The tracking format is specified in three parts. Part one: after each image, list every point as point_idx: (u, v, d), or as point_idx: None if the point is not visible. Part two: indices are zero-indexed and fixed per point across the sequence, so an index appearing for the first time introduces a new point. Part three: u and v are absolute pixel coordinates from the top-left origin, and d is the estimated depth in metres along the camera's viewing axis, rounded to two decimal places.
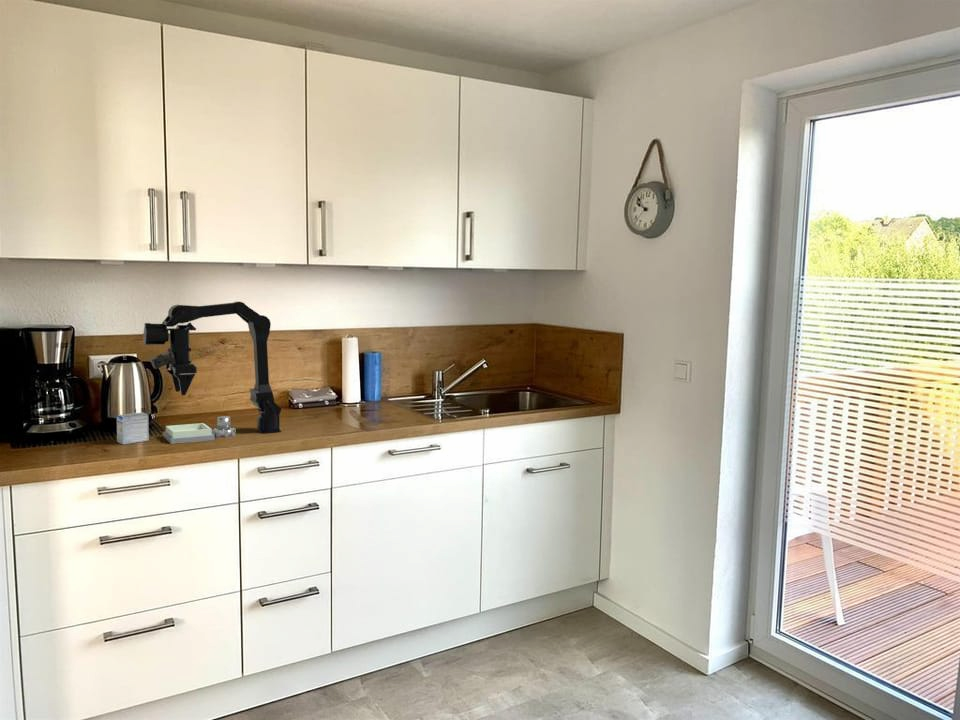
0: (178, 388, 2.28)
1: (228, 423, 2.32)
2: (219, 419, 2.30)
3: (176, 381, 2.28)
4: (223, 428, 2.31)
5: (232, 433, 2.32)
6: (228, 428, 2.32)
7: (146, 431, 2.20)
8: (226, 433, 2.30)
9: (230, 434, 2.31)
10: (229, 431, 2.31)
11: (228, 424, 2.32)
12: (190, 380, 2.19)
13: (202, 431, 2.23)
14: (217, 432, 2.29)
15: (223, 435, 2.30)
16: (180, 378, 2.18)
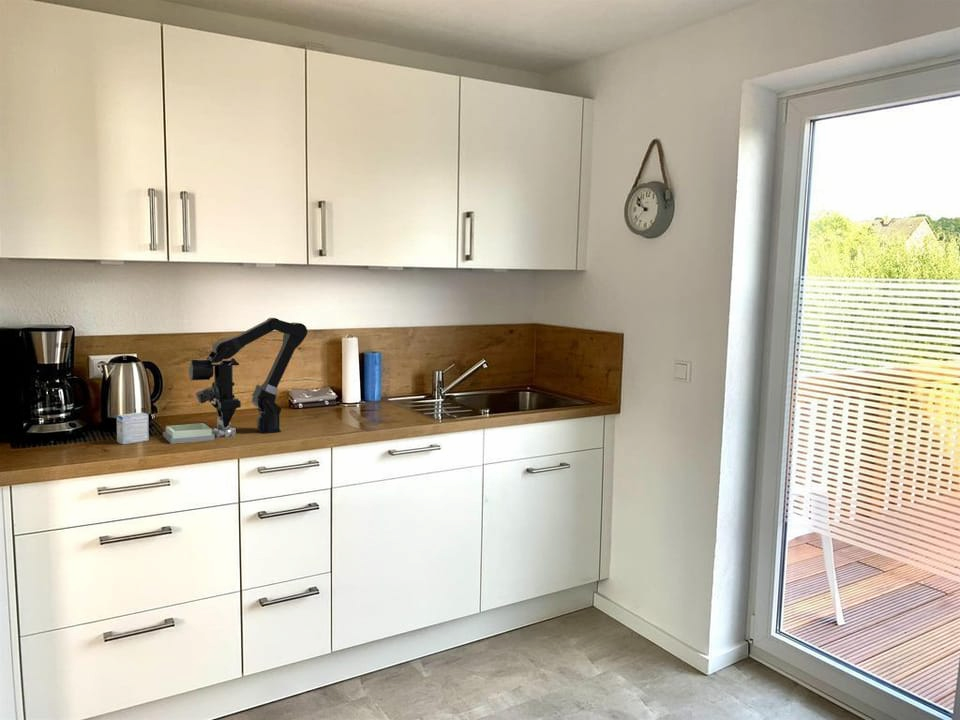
0: None
1: None
2: (219, 419, 2.30)
3: (221, 414, 2.34)
4: (223, 428, 2.31)
5: (232, 433, 2.32)
6: (228, 428, 2.32)
7: (146, 431, 2.20)
8: (226, 433, 2.30)
9: (230, 434, 2.31)
10: (229, 431, 2.31)
11: None
12: (232, 413, 2.30)
13: (202, 431, 2.23)
14: (217, 432, 2.29)
15: (223, 435, 2.30)
16: (223, 411, 2.28)
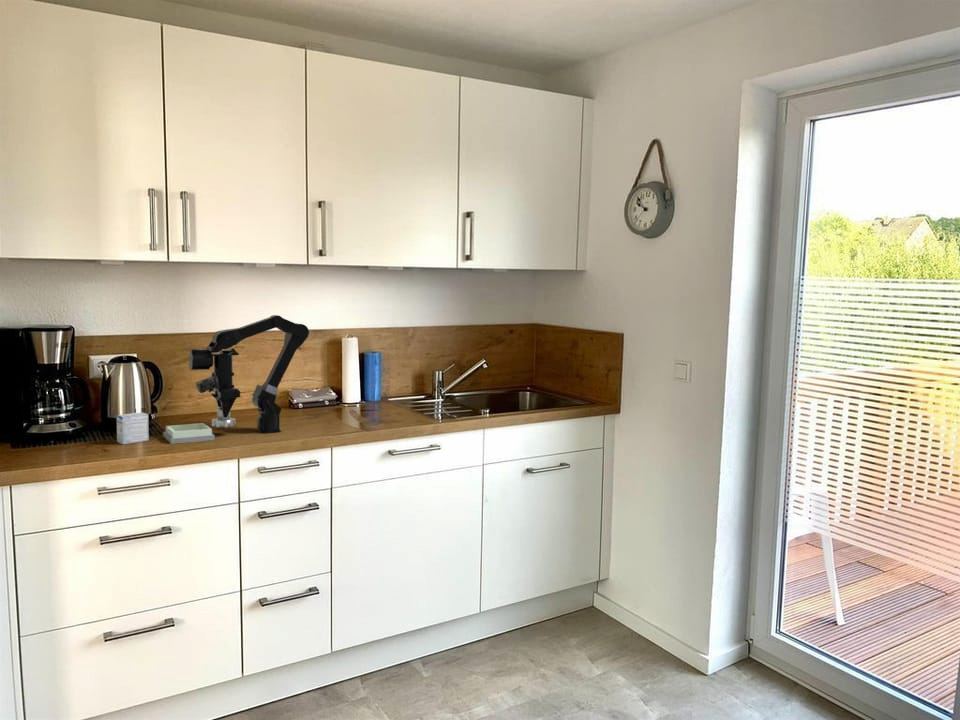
0: None
1: None
2: (219, 409, 2.30)
3: (220, 404, 2.34)
4: (223, 418, 2.30)
5: (232, 423, 2.31)
6: (228, 418, 2.31)
7: (146, 431, 2.20)
8: (226, 423, 2.29)
9: (230, 424, 2.31)
10: (229, 421, 2.31)
11: (228, 414, 2.31)
12: (232, 403, 2.30)
13: (202, 431, 2.23)
14: (217, 422, 2.29)
15: (223, 425, 2.30)
16: (223, 401, 2.28)
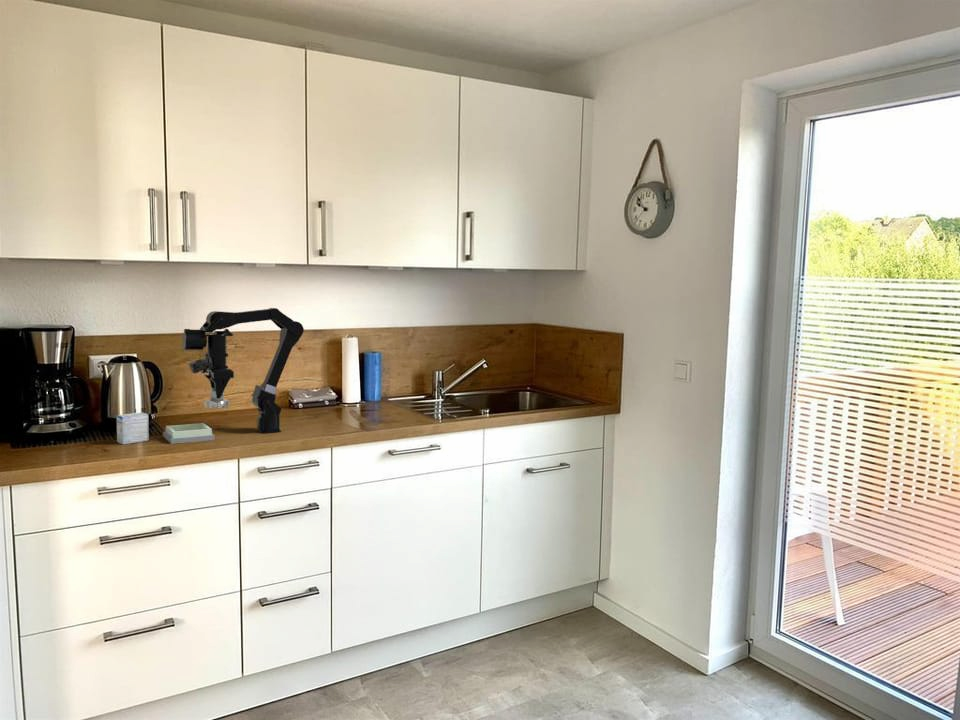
0: None
1: None
2: (212, 390, 2.28)
3: (214, 386, 2.32)
4: (216, 399, 2.29)
5: (225, 404, 2.30)
6: (221, 399, 2.30)
7: (146, 431, 2.20)
8: (219, 404, 2.28)
9: (223, 405, 2.29)
10: (222, 402, 2.29)
11: None
12: (225, 384, 2.28)
13: (202, 431, 2.23)
14: (210, 403, 2.27)
15: (216, 406, 2.28)
16: (216, 382, 2.26)
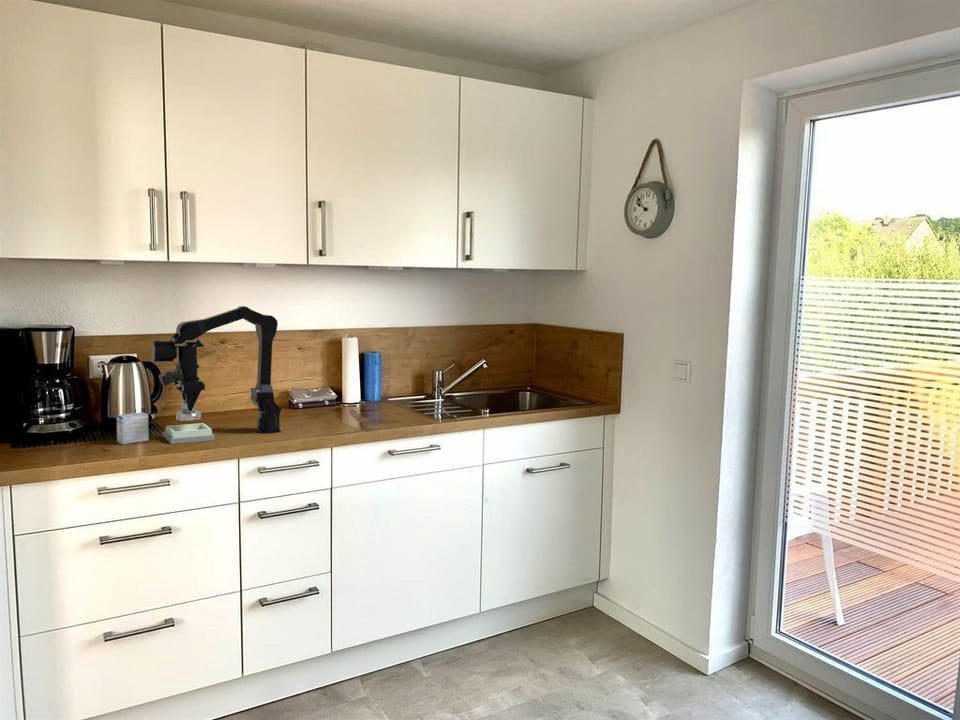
0: None
1: None
2: (183, 402, 2.24)
3: (185, 398, 2.27)
4: (187, 411, 2.24)
5: (197, 417, 2.25)
6: (193, 411, 2.25)
7: (146, 431, 2.20)
8: (190, 416, 2.23)
9: (195, 418, 2.25)
10: (194, 414, 2.24)
11: (193, 407, 2.25)
12: (197, 396, 2.23)
13: (202, 431, 2.23)
14: (181, 415, 2.22)
15: (187, 418, 2.23)
16: (187, 394, 2.21)
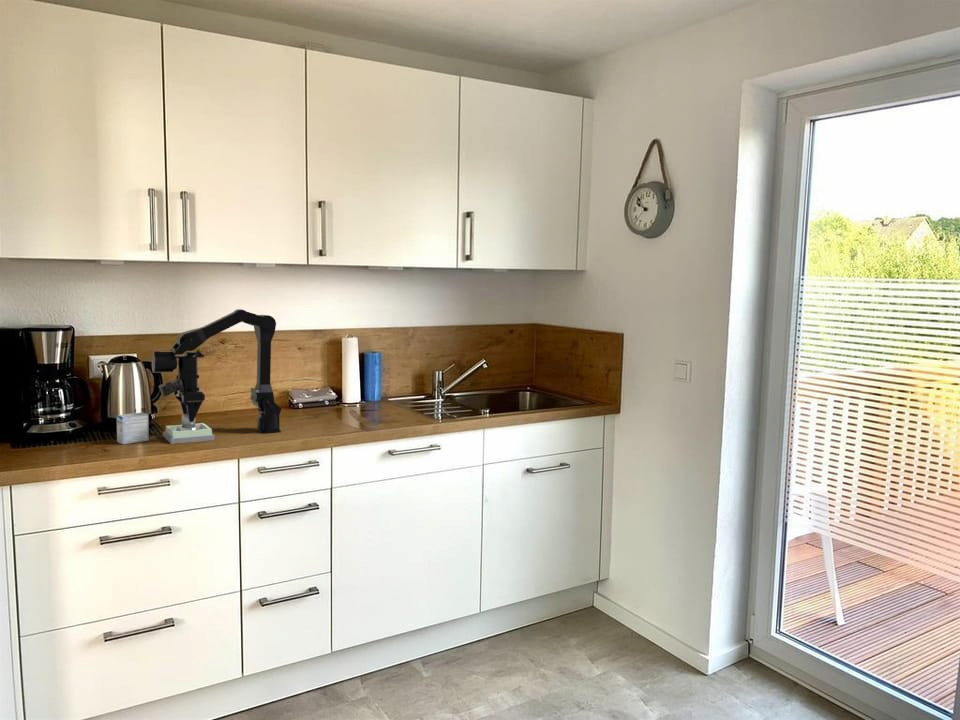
0: None
1: None
2: (183, 416, 2.24)
3: (184, 407, 2.29)
4: (187, 426, 2.24)
5: None
6: (193, 426, 2.25)
7: (146, 431, 2.20)
8: None
9: None
10: (194, 429, 2.25)
11: (193, 422, 2.25)
12: (198, 407, 2.22)
13: (202, 431, 2.23)
14: (181, 430, 2.23)
15: None
16: (188, 405, 2.20)
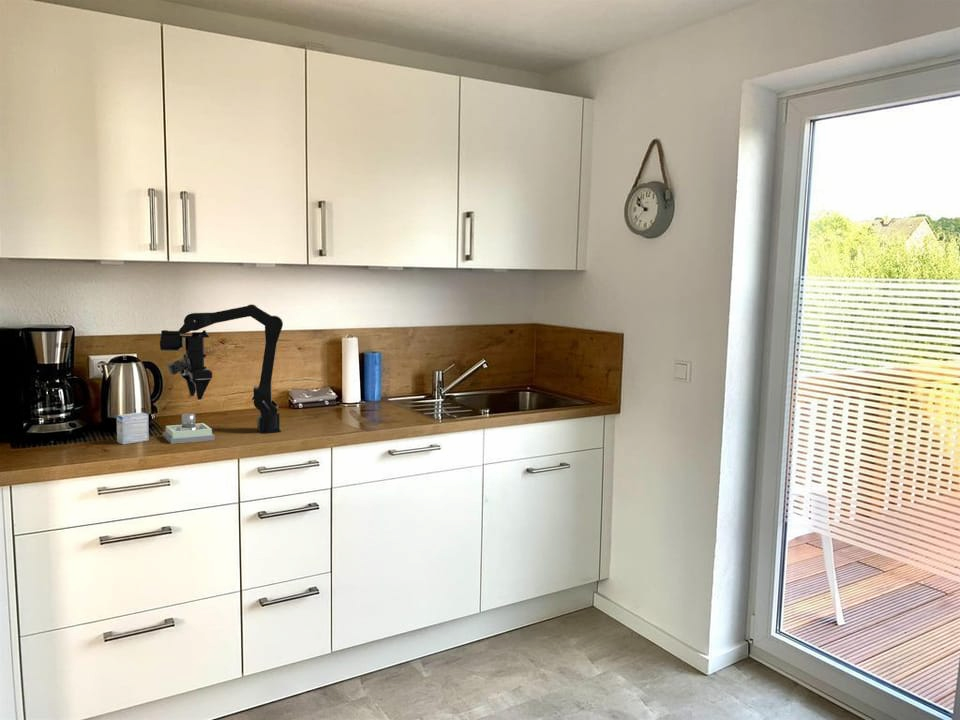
0: (193, 392, 2.38)
1: (193, 420, 2.25)
2: (183, 416, 2.24)
3: (190, 385, 2.38)
4: (187, 426, 2.24)
5: None
6: (193, 426, 2.25)
7: (146, 431, 2.20)
8: None
9: None
10: (194, 429, 2.25)
11: (193, 422, 2.25)
12: (206, 385, 2.30)
13: (202, 431, 2.23)
14: (181, 430, 2.23)
15: None
16: (196, 383, 2.28)
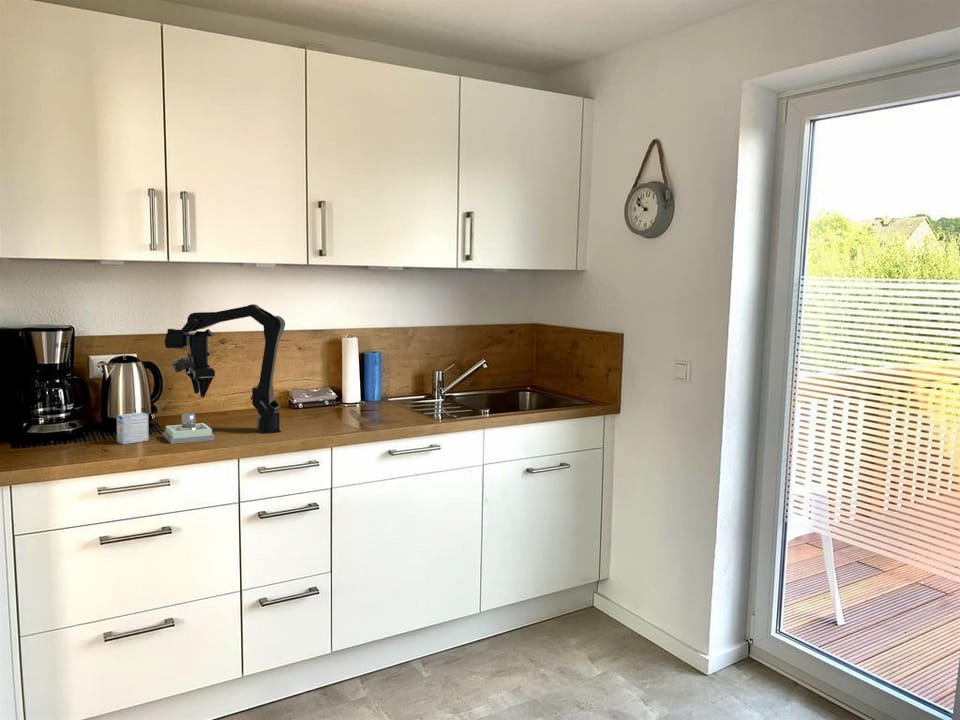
0: (197, 390, 2.42)
1: (193, 420, 2.25)
2: (183, 416, 2.24)
3: (195, 383, 2.42)
4: (187, 426, 2.24)
5: None
6: (193, 426, 2.25)
7: (146, 431, 2.20)
8: None
9: None
10: (194, 429, 2.25)
11: (193, 422, 2.25)
12: (209, 383, 2.34)
13: (202, 431, 2.23)
14: (181, 430, 2.23)
15: None
16: (199, 381, 2.32)
